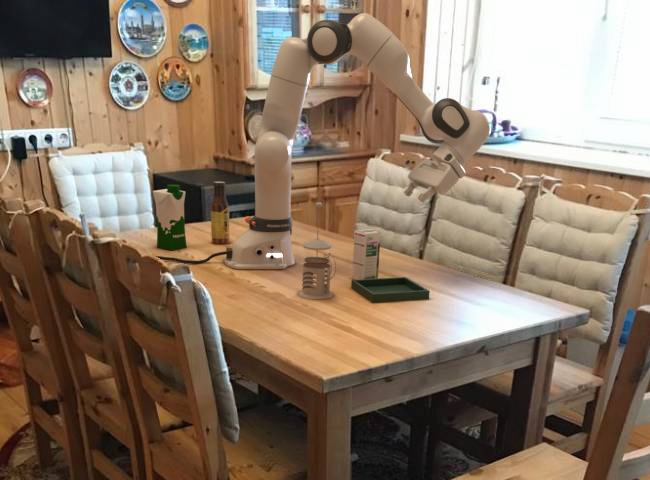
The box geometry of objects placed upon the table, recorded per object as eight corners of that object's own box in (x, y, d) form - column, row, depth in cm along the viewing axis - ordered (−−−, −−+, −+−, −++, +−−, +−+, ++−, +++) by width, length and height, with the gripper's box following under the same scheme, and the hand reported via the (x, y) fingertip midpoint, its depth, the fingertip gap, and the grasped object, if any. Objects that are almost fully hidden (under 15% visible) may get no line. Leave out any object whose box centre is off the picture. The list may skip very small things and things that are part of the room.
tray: (372, 303, 226) (373, 294, 225) (351, 288, 239) (351, 280, 238) (428, 299, 232) (429, 290, 231) (405, 284, 245) (405, 276, 244)
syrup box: (363, 283, 245) (366, 233, 237) (351, 278, 249) (354, 229, 242) (378, 280, 248) (381, 231, 240) (366, 276, 252) (369, 227, 245)
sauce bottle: (228, 245, 281) (227, 184, 272) (210, 244, 281) (208, 183, 271) (230, 241, 287) (229, 181, 277) (213, 240, 287) (211, 180, 277)
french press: (316, 287, 238) (319, 197, 225) (344, 296, 231) (349, 204, 218) (291, 293, 232) (293, 201, 219) (319, 302, 224) (323, 207, 212)
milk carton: (171, 251, 270) (168, 187, 260) (152, 247, 274) (148, 183, 264) (190, 247, 276) (188, 184, 266) (171, 243, 280) (168, 181, 270)
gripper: (424, 149, 246) (392, 183, 248) (457, 158, 230) (422, 195, 232) (435, 165, 250) (403, 199, 252) (468, 175, 234) (434, 211, 235)
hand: (413, 197), depth 242 cm, fingers open, 8 cm apart
